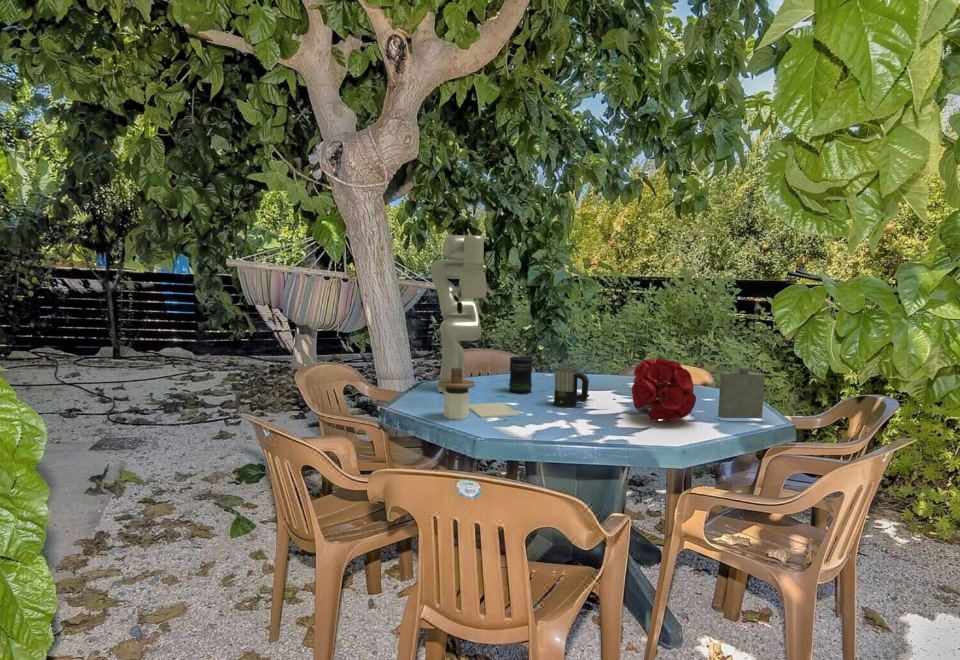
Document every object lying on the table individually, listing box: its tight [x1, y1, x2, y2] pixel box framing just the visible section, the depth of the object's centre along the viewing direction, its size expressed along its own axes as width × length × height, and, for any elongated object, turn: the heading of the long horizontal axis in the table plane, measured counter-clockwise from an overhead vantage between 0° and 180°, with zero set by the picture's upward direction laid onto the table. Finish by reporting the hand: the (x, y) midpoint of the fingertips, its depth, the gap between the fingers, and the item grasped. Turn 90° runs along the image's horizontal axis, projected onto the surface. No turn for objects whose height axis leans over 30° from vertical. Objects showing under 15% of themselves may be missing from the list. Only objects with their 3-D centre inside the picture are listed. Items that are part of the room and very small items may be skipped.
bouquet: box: [630, 357, 697, 421], centre depth 226 cm, size 22×24×30 cm
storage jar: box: [508, 356, 533, 395], centre depth 268 cm, size 10×10×15 cm
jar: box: [443, 388, 470, 421], centre depth 221 cm, size 9×8×12 cm
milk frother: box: [552, 366, 590, 408], centre depth 247 cm, size 14×16×15 cm
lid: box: [437, 368, 476, 389], centre depth 219 cm, size 13×13×6 cm
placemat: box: [469, 402, 521, 419], centre depth 232 cm, size 20×15×1 cm
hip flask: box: [717, 366, 766, 419], centre depth 225 cm, size 16×4×20 cm, turn 91°
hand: (472, 313), depth 235 cm, fingers open, 9 cm apart
